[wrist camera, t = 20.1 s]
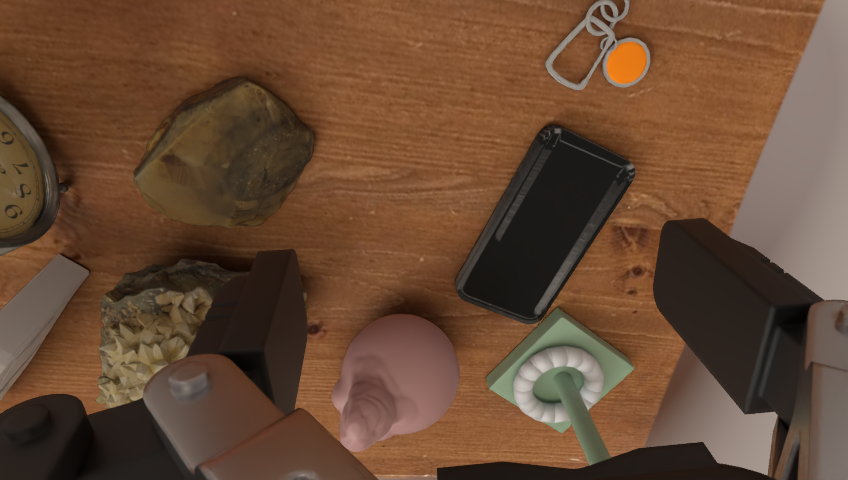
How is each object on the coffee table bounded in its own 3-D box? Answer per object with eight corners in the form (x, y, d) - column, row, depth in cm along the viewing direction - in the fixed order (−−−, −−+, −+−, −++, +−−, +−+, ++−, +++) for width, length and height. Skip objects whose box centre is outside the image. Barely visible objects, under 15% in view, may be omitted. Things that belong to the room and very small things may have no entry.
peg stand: (556, 306, 47) (608, 402, 37) (628, 357, 50) (694, 459, 40) (485, 377, 50) (514, 485, 39) (557, 421, 52) (602, 533, 42)
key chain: (608, 118, 40) (612, 121, 39) (528, 60, 38) (531, 61, 37) (740, -51, 36) (748, -51, 35) (658, -127, 34) (665, -129, 33)
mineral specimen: (274, 407, 49) (252, 505, 40) (117, 375, 46) (56, 472, 37) (318, 267, 44) (303, 344, 35) (142, 220, 41) (77, 291, 32)
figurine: (310, 371, 48) (292, 489, 37) (383, 273, 44) (386, 372, 33) (398, 412, 51) (404, 533, 40) (472, 323, 47) (502, 430, 36)
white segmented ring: (554, 327, 46) (560, 338, 45) (617, 369, 48) (625, 382, 47) (493, 388, 48) (497, 401, 47) (556, 425, 51) (562, 439, 49)
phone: (641, 167, 41) (536, 328, 46) (635, 162, 42) (532, 320, 47) (549, 122, 39) (450, 295, 44) (544, 118, 40) (448, 288, 45)
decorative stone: (219, 45, 36) (204, 53, 33) (335, 140, 39) (331, 155, 36) (131, 164, 39) (110, 181, 36) (246, 244, 42) (235, 266, 39)
